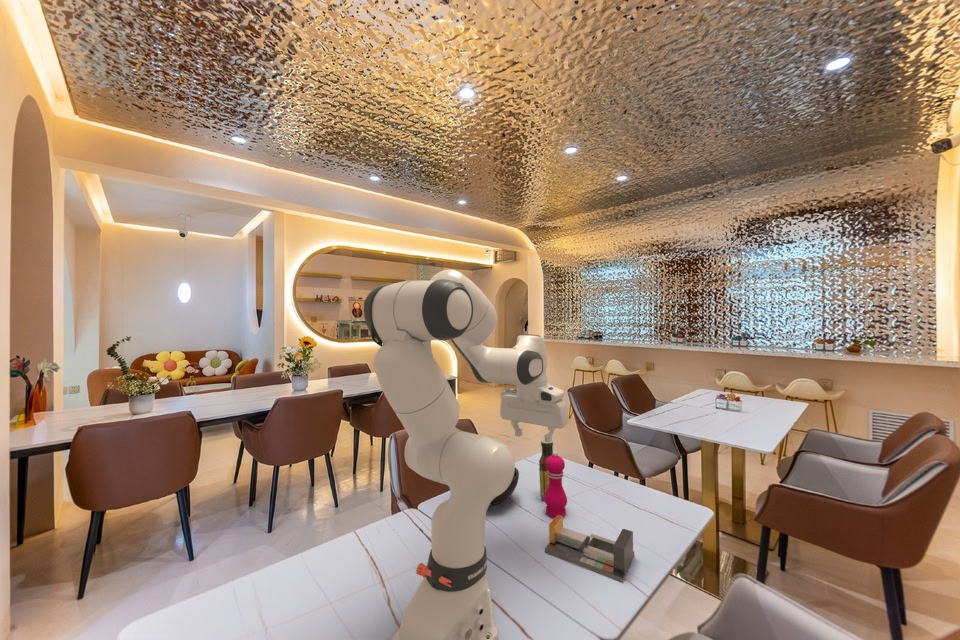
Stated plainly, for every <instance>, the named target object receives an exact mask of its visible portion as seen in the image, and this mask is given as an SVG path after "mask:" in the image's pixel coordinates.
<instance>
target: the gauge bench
mask: <svg viewBox="0 0 960 640" xmlns="http://www.w3.org/2000/svg"><path fill="white" fill-rule="evenodd" d="M589 536H590V537H593V547H592V546H589V545H586V546H585V548H584V550H583V551H582V552H581V551H579V549H576V548H574V547H571V546H568V545H565V544H562V543H560V542H557V541H556V543H555V544H554V543H551V542H549V543H547V546H545V548H544V553H546V554H547V555H551V556H553V557H556V558H557V559H562V560H564V561H566V562H569V563H571V564H574V565H576V566H579V567H582V568H584V569H587V570H589V571H592V572H595V573H597V574H600V575H603V576H605V577H608V578H609V579H613V580H616V581H618V582H621V583H624V581H625V578H626V576H627V574H628V572H629V569H630V567H631V565H632V562H633V561H634V558H635V550H634V532H633V531H632V530H629V529H625V528H622V529H621V531H620V533H619V534H618V537H617V538H616V540H612V539H610V538H606V537H603V536H599V535H597V534H594V533H591V534H590V535H589Z"/></svg>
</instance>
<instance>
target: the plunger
mask: <svg viewBox="0 0 960 640" xmlns="http://www.w3.org/2000/svg"><path fill="white" fill-rule="evenodd" d="M548 541H549V543H550V542H551V543H554V544H555V543H556V541H557V542H560V543H562V544H565V545H568V546H571V547H574V548H576V549H579V551H581V552H582V551H583V550H584V548H585V546H586V545H589V546H592V547H593V537H590V535H587V534H584V533H581V532H577V531H575V530H572V529H569V528H565V527H564V517H563V516H561V515H557V516H556V517H555V518H552V520H551V521H550V523H548Z"/></svg>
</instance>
